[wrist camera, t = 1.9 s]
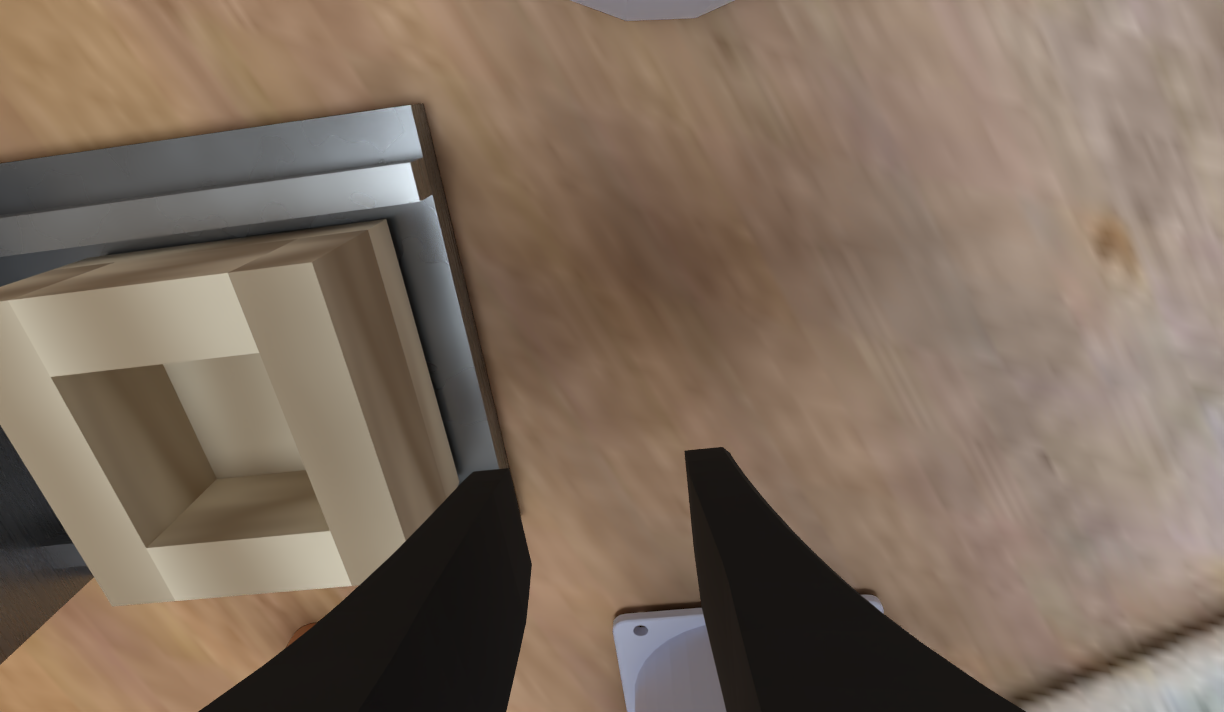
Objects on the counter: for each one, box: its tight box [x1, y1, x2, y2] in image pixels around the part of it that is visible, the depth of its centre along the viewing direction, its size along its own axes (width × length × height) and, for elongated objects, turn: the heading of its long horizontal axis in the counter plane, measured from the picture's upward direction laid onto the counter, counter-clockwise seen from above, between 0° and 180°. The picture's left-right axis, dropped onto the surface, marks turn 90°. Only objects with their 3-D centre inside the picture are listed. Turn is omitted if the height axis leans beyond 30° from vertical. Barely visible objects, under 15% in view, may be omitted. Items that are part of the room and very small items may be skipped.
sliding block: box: [0, 219, 459, 606], centre depth 15 cm, size 8×8×4 cm
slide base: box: [0, 104, 521, 664], centre depth 16 cm, size 16×13×6 cm
